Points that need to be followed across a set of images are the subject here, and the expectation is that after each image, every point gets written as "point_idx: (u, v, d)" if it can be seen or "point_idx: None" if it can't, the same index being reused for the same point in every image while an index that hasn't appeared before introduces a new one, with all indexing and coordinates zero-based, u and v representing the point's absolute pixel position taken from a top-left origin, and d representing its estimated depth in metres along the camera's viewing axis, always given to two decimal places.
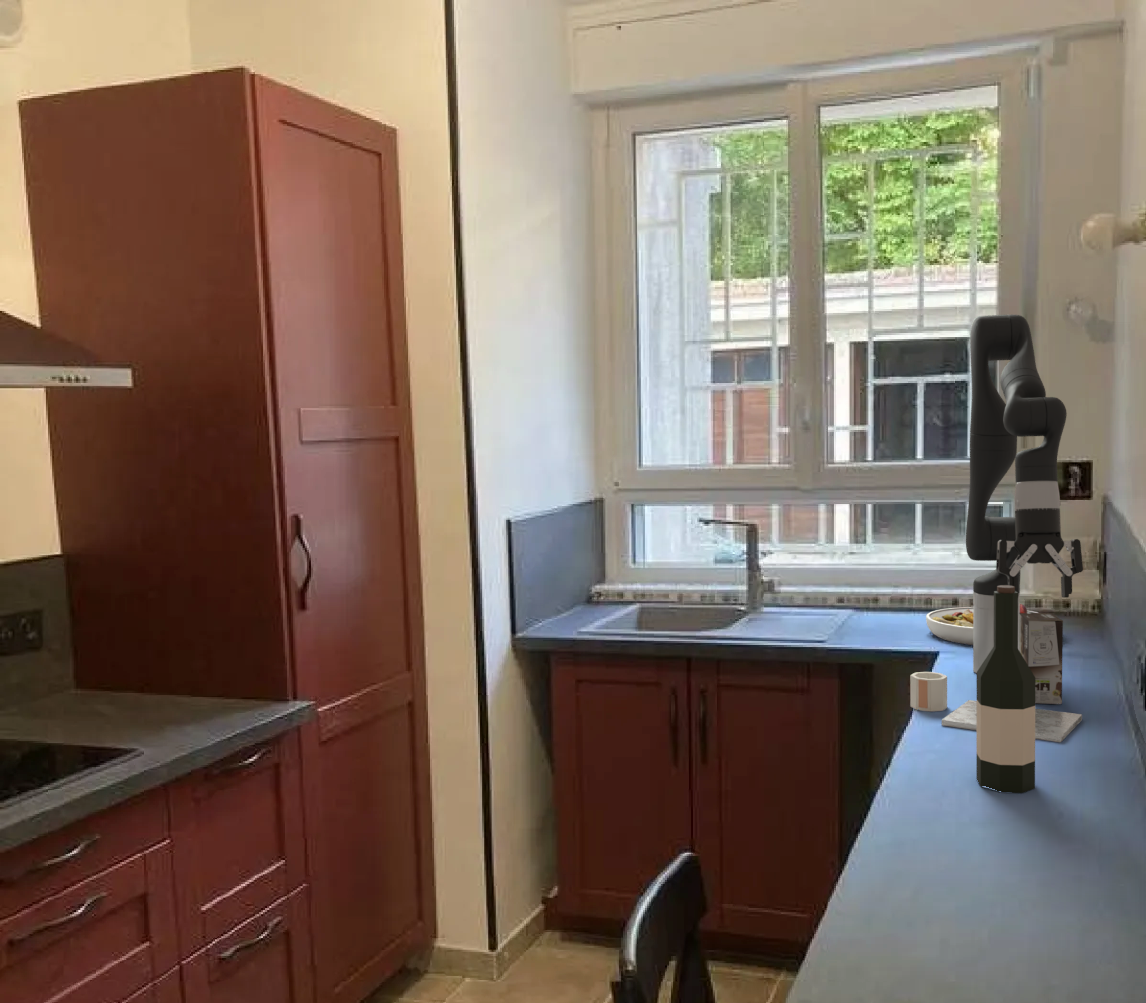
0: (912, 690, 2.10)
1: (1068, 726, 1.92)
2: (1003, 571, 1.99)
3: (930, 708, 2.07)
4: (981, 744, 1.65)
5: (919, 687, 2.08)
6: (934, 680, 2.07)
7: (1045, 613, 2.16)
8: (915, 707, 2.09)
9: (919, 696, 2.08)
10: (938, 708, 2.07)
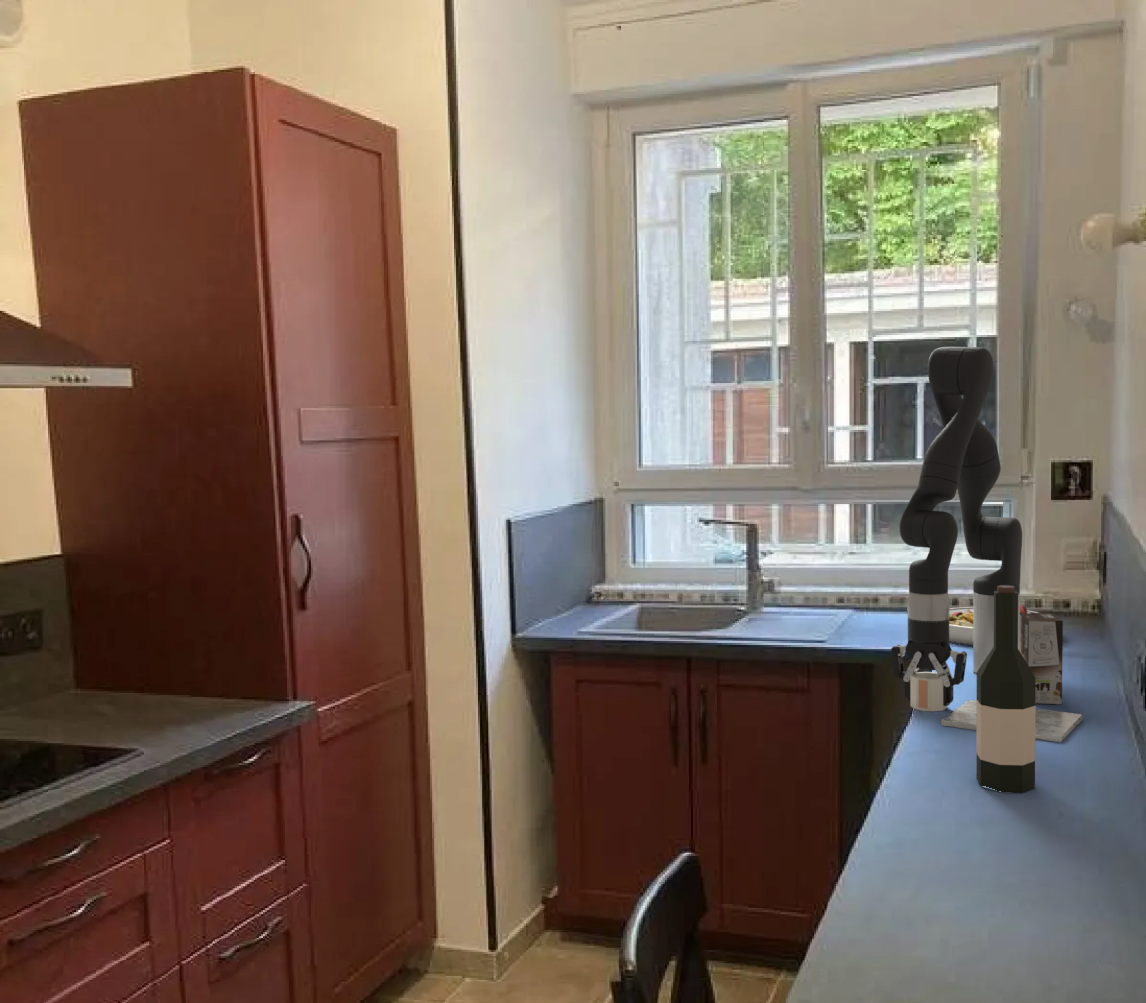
0: (912, 690, 2.10)
1: (1068, 726, 1.92)
2: (897, 676, 2.12)
3: (930, 708, 2.07)
4: (981, 744, 1.65)
5: (919, 687, 2.08)
6: (934, 680, 2.07)
7: (1045, 613, 2.16)
8: (915, 707, 2.09)
9: (919, 696, 2.08)
10: (938, 708, 2.07)
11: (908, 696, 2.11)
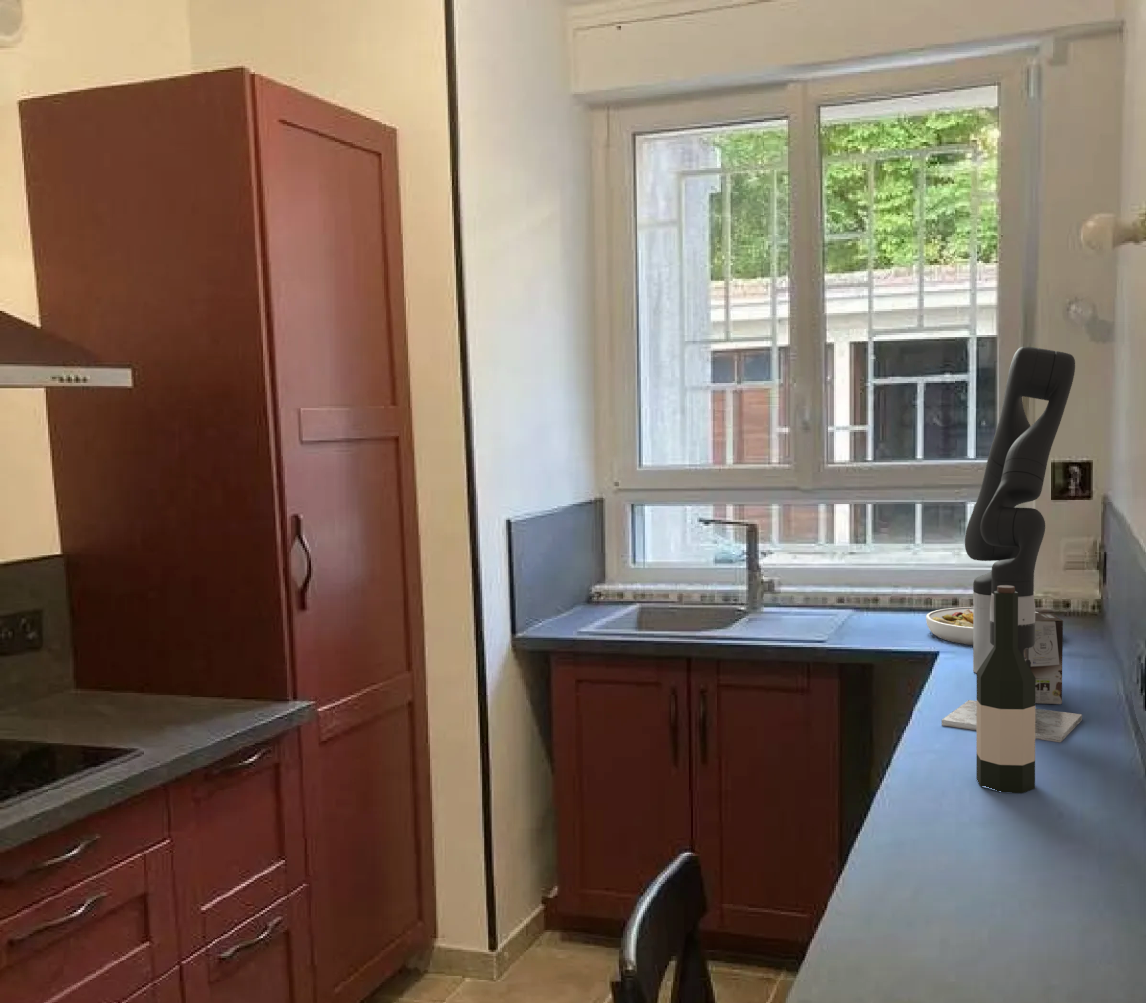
0: None
1: (1068, 726, 1.92)
2: None
3: None
4: (981, 744, 1.65)
5: None
6: None
7: (1045, 613, 2.16)
8: None
9: None
10: None
11: None
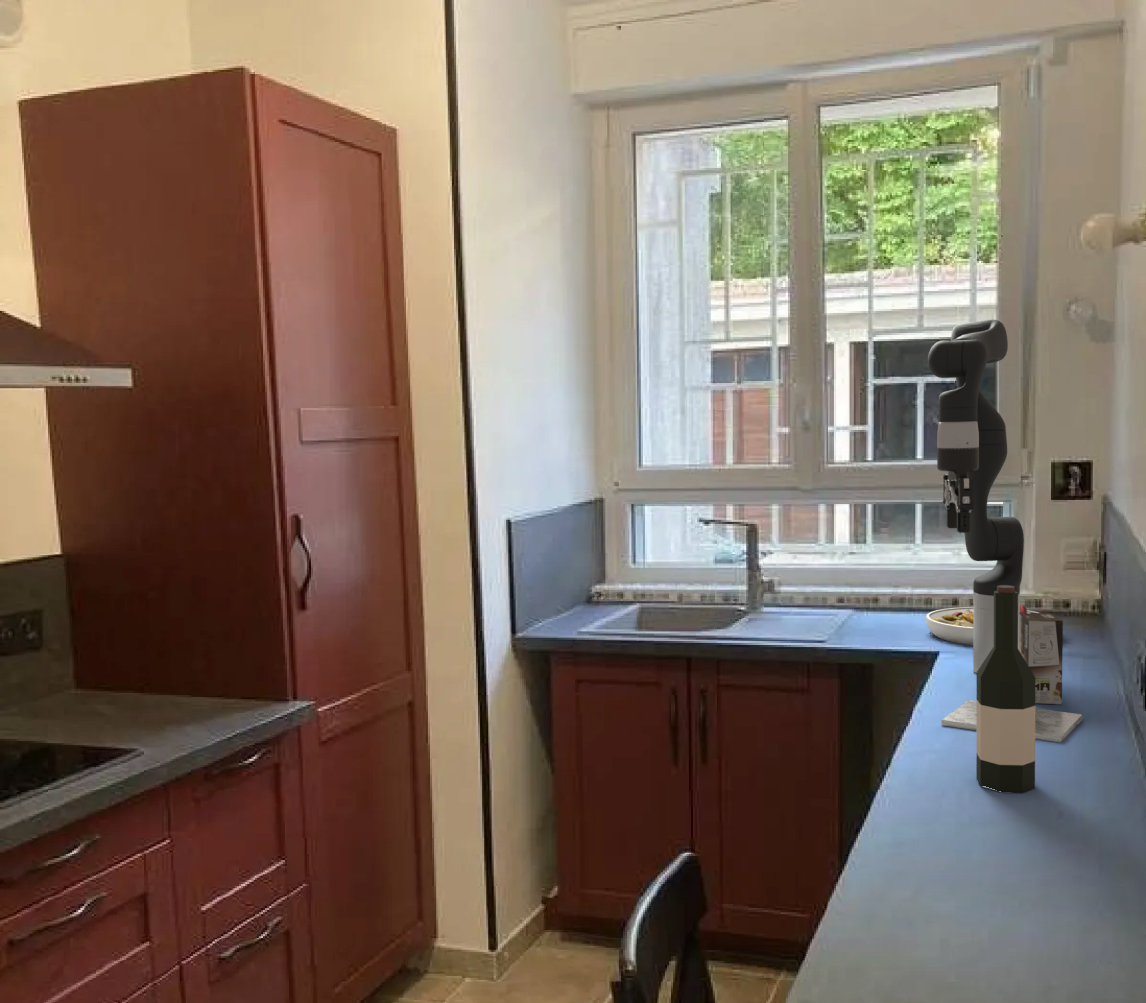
0: None
1: (1068, 726, 1.92)
2: (943, 503, 2.18)
3: None
4: (981, 744, 1.65)
5: None
6: None
7: (1045, 613, 2.16)
8: None
9: None
10: None
11: None
